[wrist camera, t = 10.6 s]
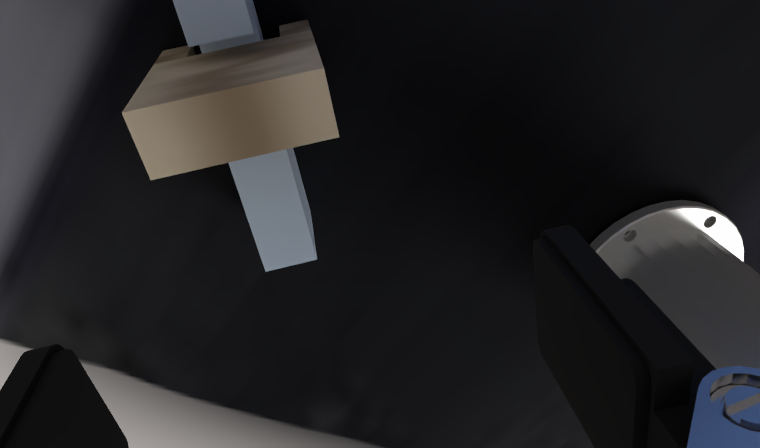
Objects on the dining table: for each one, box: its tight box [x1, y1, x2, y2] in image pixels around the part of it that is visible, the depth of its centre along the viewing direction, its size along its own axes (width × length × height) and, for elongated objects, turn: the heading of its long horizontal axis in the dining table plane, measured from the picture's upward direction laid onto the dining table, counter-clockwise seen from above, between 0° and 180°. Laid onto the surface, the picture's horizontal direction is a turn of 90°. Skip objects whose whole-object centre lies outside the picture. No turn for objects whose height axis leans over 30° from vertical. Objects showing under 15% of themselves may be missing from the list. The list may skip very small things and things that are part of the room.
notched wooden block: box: [122, 19, 339, 180], centre depth 24 cm, size 7×3×9 cm, turn 100°
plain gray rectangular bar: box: [173, 0, 317, 272], centre depth 26 cm, size 18×3×5 cm, turn 10°
